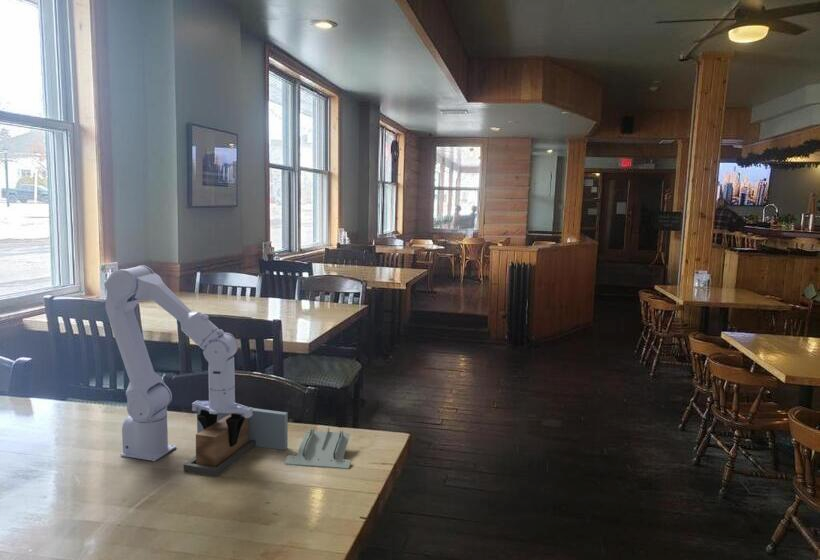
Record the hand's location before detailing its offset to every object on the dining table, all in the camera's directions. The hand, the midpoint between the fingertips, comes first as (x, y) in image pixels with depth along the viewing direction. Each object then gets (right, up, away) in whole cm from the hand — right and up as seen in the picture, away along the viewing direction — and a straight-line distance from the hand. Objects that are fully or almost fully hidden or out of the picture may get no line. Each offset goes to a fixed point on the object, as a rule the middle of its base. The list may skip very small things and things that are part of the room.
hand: (222, 443), depth 134 cm
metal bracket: (+23, -4, +3) cm, 24 cm away
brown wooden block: (0, -3, +1) cm, 3 cm away
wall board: (0, -3, 0) cm, 3 cm away
